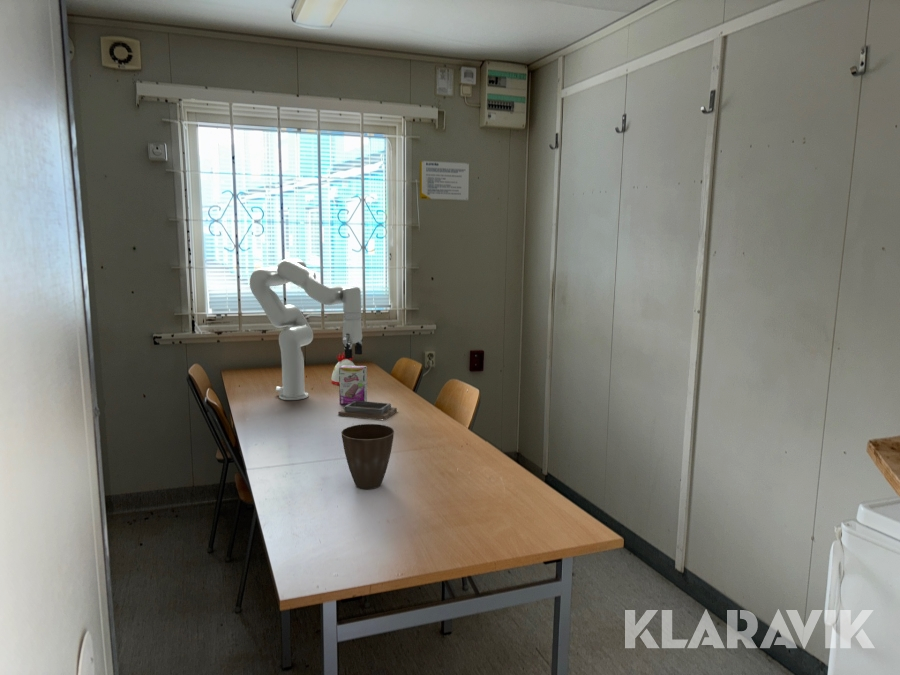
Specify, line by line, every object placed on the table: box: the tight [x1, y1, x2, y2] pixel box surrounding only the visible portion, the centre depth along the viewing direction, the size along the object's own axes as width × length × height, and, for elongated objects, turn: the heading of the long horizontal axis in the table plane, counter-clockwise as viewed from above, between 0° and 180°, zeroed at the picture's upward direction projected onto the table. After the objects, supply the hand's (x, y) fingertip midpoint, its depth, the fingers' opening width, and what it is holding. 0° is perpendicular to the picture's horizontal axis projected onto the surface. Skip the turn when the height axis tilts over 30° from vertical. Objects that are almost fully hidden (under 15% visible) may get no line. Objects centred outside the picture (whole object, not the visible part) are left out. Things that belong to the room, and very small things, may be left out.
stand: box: [338, 401, 398, 421], centre depth 251 cm, size 13×20×4 cm, turn 74°
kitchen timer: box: [330, 352, 356, 386], centre depth 305 cm, size 14×14×15 cm
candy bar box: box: [338, 365, 368, 406], centre depth 265 cm, size 11×5×16 cm, turn 84°
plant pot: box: [341, 423, 395, 490], centre depth 178 cm, size 15×15×16 cm
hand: (353, 356), depth 263 cm, fingers open, 9 cm apart
